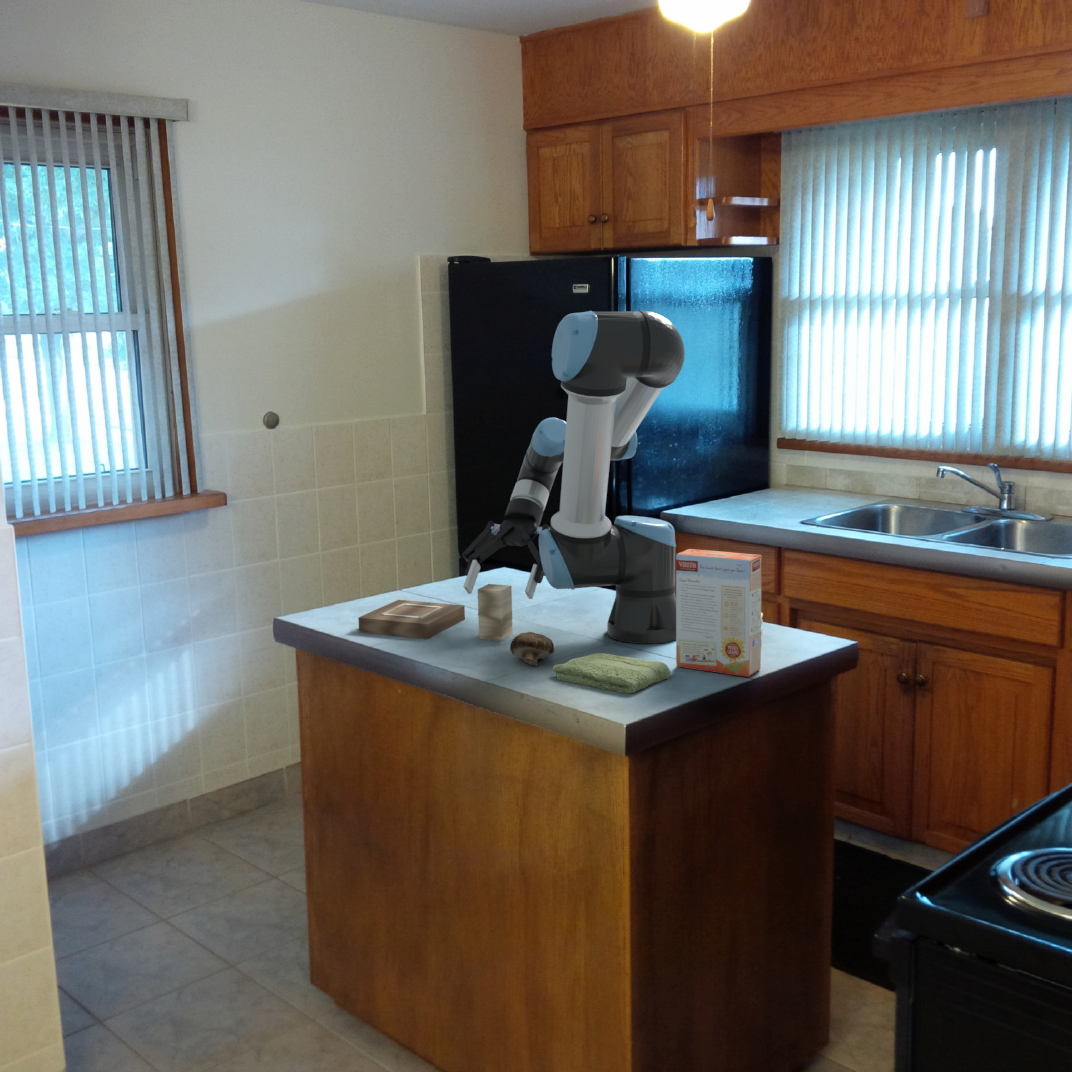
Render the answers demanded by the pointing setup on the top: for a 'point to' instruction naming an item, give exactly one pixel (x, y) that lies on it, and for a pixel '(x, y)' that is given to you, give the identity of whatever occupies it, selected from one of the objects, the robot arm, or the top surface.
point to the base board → (412, 619)
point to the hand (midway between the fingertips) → (497, 592)
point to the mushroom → (531, 647)
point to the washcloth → (612, 672)
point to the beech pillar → (495, 612)
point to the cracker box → (718, 611)
